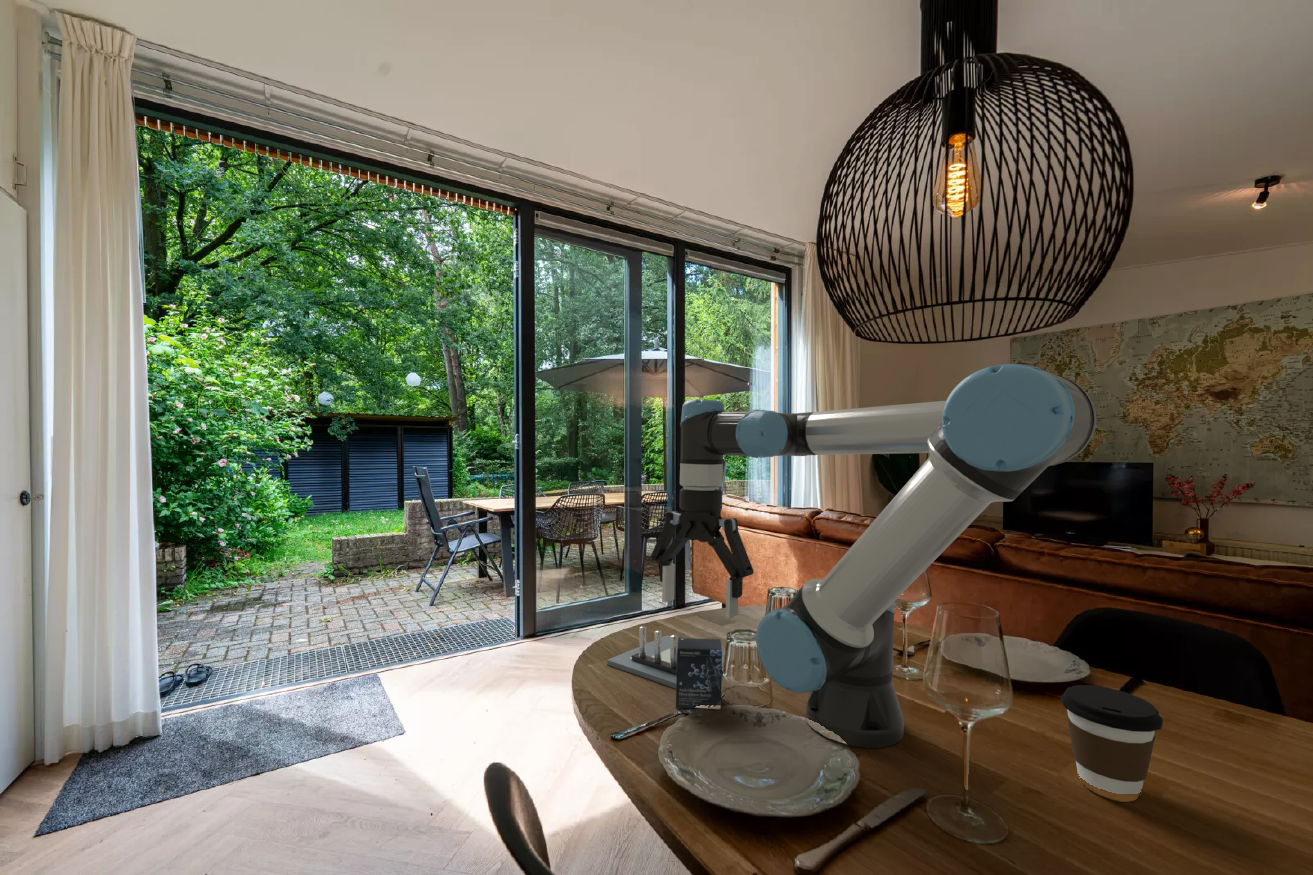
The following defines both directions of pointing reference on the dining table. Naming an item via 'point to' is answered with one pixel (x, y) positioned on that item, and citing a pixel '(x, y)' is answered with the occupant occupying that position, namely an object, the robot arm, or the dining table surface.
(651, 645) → the slate board
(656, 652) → the header pins
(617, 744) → the dining table surface
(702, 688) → the box
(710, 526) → the robot arm
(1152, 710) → the coffee cup
